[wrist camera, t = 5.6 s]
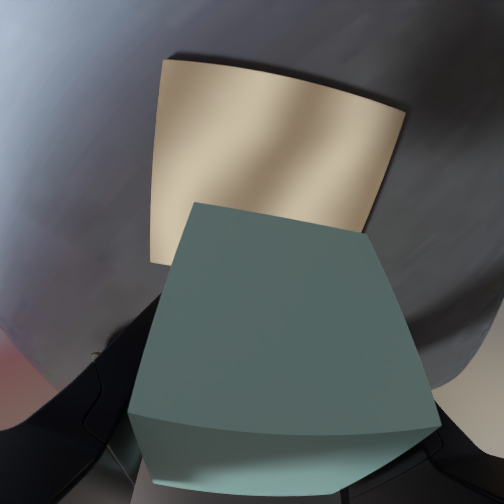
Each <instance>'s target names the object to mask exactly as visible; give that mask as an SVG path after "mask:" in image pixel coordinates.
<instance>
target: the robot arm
mask: <svg viewBox="0 0 504 504" xmlns="http://www.w3.org/2000/svg"><path fill="white" fill-rule="evenodd" d="M161 294H162V293H161ZM161 294H160V295H159V296H158V297H157V298H156V299H155V300H154V301H153V302H152V303H151V304H150V305H149V306H148V307H147V308H146V309H145V310H144V311H142V312H141V313H140V314H139V315H138V316H137V317H136V318H135V319H134V320H133V321H132V322H131V323H130V324H129V325H128V326H127V327H126V328H125V329H124V330H123V331H122V332H121V333H120V334H119V335H118V336H117V337H116V338H115V339H114V340H113V341H112V342H111V343H110V344H109V345H108V346H107V347H106V348H105V349H104V350H103V351H102V352H101V353H100V354H99V355H98V356H97V357H96V359H95V360H94V362H91V363H90V364H89V365H88V367H87V368H86V369H85V370H84V371H83V372H82V373H81V374H80V375H78V376H77V377H76V378H75V379H74V380H73V381H72V382H71V383H70V384H69V385H68V386H66V387H65V388H64V389H63V390H62V391H61V392H59V393H58V394H57V395H56V396H55V397H53V398H52V399H51V400H50V401H48V402H47V403H46V404H45V405H44V406H42V407H41V408H40V409H39V410H37V411H36V412H35V413H34V414H32V415H31V416H30V417H29V418H27V419H26V420H25V421H23V422H21V423H20V424H18V425H16V426H14V427H12V428H9V429H6V430H1V431H0V504H130V502H131V499H132V494H133V491H134V486H135V483H136V479H137V476H138V472H139V468H140V464H141V461H142V457H143V456H142V454H141V451H140V448H139V445H138V443H137V440H136V437H135V434H134V431H133V428H132V425H131V422H130V419H129V416H128V413H127V412H128V408H129V404H130V400H131V396H132V392H133V389H134V385H135V381H136V378H137V374H138V370H139V367H140V363H141V360H142V356H143V353H144V349H145V346H146V343H147V339H148V336H149V333H150V329H151V326H152V323H153V319H154V316H155V313H156V310H157V307H158V304H159V301H160V297H161ZM434 401H435V400H434ZM435 405H436V408H437V411H438V414H439V418H440V421H441V425H442V426H441V427H439V428H438V429H437V430H435V431H434V432H433V433H431V434H430V435H429V436H427V437H426V438H424V439H423V440H422V441H420V442H419V443H417V444H416V445H415V446H413V447H412V448H410V449H409V450H407V451H406V452H404V453H403V454H401V455H400V456H398V457H397V458H395V459H393V460H392V461H390V462H389V463H387V464H385V465H384V466H382V467H381V468H379V469H377V470H375V471H374V472H372V473H370V474H369V475H367V476H365V477H363V478H361V479H360V480H358V481H356V482H354V483H352V484H350V485H348V486H347V487H345V488H343V489H341V490H340V494H341V502H342V504H504V458H500V457H496V456H492V455H489V454H487V453H485V452H483V451H482V450H480V449H479V448H478V447H477V446H476V445H475V444H474V443H473V442H472V441H471V440H470V439H469V438H468V437H467V436H466V435H465V434H464V432H463V431H461V429H460V428H459V427H458V426H457V425H456V424H455V423H454V422H453V421H452V420H451V419H450V418H449V417H448V415H447V414H446V413H445V412H444V411H443V410H442V409H441V407H439V405H438V404H437V403H436V401H435Z"/></svg>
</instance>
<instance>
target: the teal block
mask: <svg viewBox="0 0 504 504" xmlns="http://www.w3.org/2000/svg"><path fill="white" fill-rule="evenodd" d="M127 413H128V416H129V419H130V422H131V425H132V428H133V431H134V434H135V437H136V440H137V443H138V445H139V448H140V451H141V454H142V456H143V459H144V461H145V464H146V466H147V469H148V471H149V474H150V476H151V479H152V481H153V483H156V484H161V485H166V486H172V487H177V488H184V489H191V490H199V491H206V492H215V493H226V494H238V495H257V496H259V495H260V496H305V495H324V494H333V493H335V492H337V491H339V490H341V489H343V488H345V487H347V486H348V485H350V484H352V483H354V482H356V481H358V480H360V479H361V478H363V477H365V476H367V475H369V474H370V473H372V472H374V471H375V470H377V469H379V468H381V467H382V466H384V465H385V464H387V463H389V462H390V461H392V460H393V459H395V458H397V457H398V456H400V455H401V454H403V453H404V452H406V451H407V450H409V449H410V448H412V447H413V446H415V445H416V444H417V443H419V442H420V441H422V440H423V439H424V438H426V437H427V436H429V435H430V434H431V433H433V432H434V431H435V430H437V429H438V428H439V427H441V426H442V425H441V421H440V418H439V414H438V411H437V408H436V405H435V401H434V398H433V395H432V392H431V389H430V386H429V383H428V380H427V377H426V374H425V371H424V368H423V366H422V363H421V360H420V357H419V354H418V352H417V349H416V346H415V344H414V341H413V339H412V336H411V333H410V331H409V328H408V326H407V323H406V321H405V318H404V316H403V313H402V311H401V309H400V306H399V304H398V301H397V299H396V297H395V294H394V292H393V290H392V287H391V285H390V283H389V281H388V278H387V276H386V274H385V272H384V270H383V267H382V265H381V263H380V261H379V259H378V257H377V254H376V252H375V250H374V248H373V246H372V244H371V242H370V240H369V238H368V236H367V234H363V233H359V232H354V231H349V230H344V229H339V228H335V227H330V226H325V225H320V224H315V223H310V222H304V221H299V220H294V219H289V218H284V217H278V216H273V215H267V214H262V213H256V212H251V211H245V210H240V209H234V208H228V207H222V206H216V205H210V204H204V203H198V202H194V204H193V206H192V209H191V212H190V214H189V217H188V220H187V222H186V225H185V228H184V231H183V233H182V236H181V239H180V242H179V244H178V247H177V250H176V253H175V256H174V259H173V262H172V264H171V267H170V270H169V273H168V276H167V279H166V282H165V285H164V288H163V291H162V294H161V297H160V301H159V304H158V307H157V310H156V313H155V316H154V319H153V323H152V326H151V329H150V333H149V336H148V339H147V343H146V346H145V349H144V353H143V356H142V360H141V363H140V367H139V370H138V374H137V378H136V381H135V385H134V389H133V392H132V396H131V400H130V404H129V408H128V412H127Z"/></svg>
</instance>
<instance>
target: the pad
mask: <svg viewBox="0 0 504 504" xmlns="http://www.w3.org/2000/svg"><path fill="white" fill-rule="evenodd" d="M405 114H406V113H405V112H403V111H401V110H399V109H396V108H393V107H391V106H388V105H385V104H382V103H380V102H377V101H374V100H371V99H368V98H365V97H362V96H359V95H355V94H352V93H349V92H346V91H342V90H339V89H335V88H332V87H328V86H325V85H321V84H317V83H313V82H309V81H305V80H301V79H297V78H292V77H288V76H283V75H279V74H274V73H269V72H264V71H258V70H253V69H247V68H241V67H235V66H228V65H221V64H213V63H205V62H196V61H186V60H174V59H163V66H162V73H161V81H160V89H159V98H158V107H157V117H156V128H155V140H154V153H153V169H152V189H151V223H150V262H153V263H159V264H165V265H171V264H172V262H173V259H174V256H175V253H176V250H177V247H178V244H179V242H180V239H181V236H182V233H183V231H184V228H185V225H186V222H187V220H188V217H189V214H190V212H191V209H192V206H193V204H194V202H198V203H204V204H210V205H216V206H222V207H228V208H234V209H240V210H245V211H251V212H256V213H262V214H267V215H273V216H278V217H284V218H289V219H294V220H299V221H304V222H310V223H315V224H320V225H325V226H330V227H335V228H339V229H344V230H349V231H354V232H359V233H361V232H362V229H363V227H364V225H365V222H366V220H367V217H368V215H369V212H370V210H371V208H372V205H373V203H374V200H375V198H376V195H377V192H378V190H379V187H380V185H381V182H382V180H383V177H384V174H385V172H386V169H387V166H388V163H389V161H390V158H391V155H392V152H393V150H394V147H395V144H396V141H397V138H398V135H399V132H400V129H401V126H402V123H403V120H404V117H405Z"/></svg>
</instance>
